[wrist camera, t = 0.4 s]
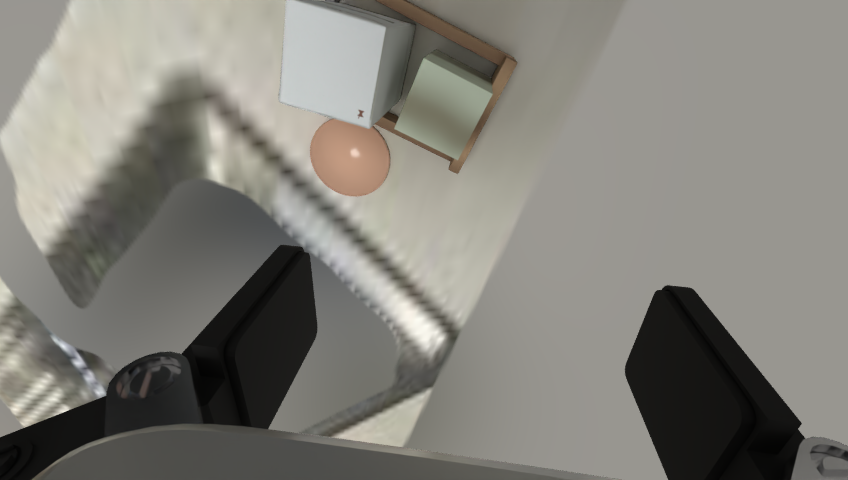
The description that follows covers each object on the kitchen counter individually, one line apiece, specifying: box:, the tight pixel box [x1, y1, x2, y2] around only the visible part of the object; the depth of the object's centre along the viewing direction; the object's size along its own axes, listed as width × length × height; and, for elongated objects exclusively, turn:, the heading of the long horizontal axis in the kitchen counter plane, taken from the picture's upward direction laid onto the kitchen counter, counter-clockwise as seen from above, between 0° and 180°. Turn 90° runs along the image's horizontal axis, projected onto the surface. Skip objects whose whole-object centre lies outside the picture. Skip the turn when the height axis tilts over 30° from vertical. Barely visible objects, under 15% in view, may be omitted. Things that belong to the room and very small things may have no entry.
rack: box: [325, 0, 517, 174], centre depth 36 cm, size 11×18×9 cm, turn 65°
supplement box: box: [279, 0, 416, 129], centre depth 34 cm, size 7×7×13 cm
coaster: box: [310, 119, 390, 196], centre depth 44 cm, size 9×9×1 cm
